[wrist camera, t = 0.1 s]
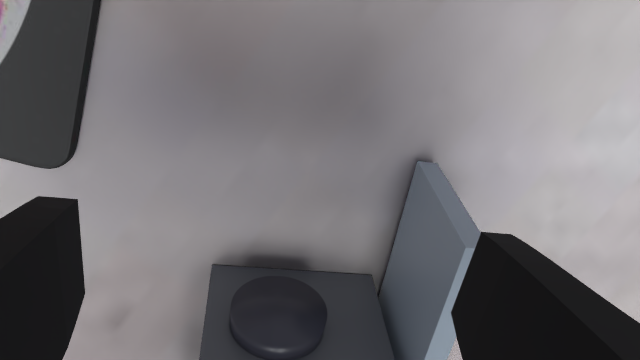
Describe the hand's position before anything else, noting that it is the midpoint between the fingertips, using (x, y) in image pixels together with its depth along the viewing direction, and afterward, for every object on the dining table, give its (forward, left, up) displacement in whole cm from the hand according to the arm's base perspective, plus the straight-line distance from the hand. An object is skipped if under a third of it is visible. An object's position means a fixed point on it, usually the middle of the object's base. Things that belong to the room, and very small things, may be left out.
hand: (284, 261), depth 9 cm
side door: (-10, -7, -10) cm, 16 cm away
